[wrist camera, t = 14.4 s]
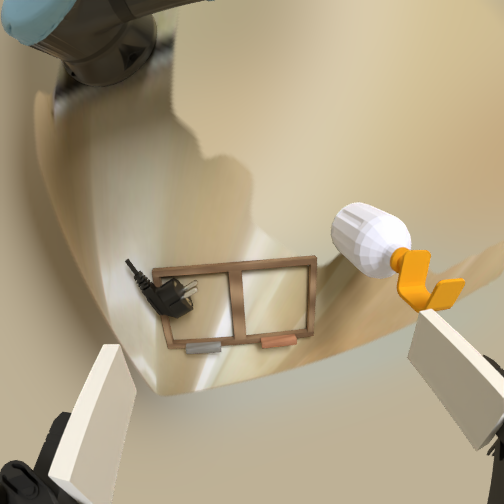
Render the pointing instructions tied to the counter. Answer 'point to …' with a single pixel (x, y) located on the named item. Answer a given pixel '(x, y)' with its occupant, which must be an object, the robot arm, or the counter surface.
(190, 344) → the strip
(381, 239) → the soap bottle
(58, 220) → the counter surface
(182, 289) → the power plug
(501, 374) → the robot arm
